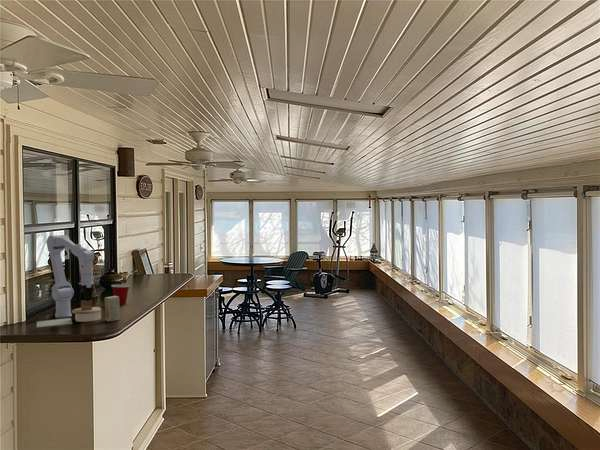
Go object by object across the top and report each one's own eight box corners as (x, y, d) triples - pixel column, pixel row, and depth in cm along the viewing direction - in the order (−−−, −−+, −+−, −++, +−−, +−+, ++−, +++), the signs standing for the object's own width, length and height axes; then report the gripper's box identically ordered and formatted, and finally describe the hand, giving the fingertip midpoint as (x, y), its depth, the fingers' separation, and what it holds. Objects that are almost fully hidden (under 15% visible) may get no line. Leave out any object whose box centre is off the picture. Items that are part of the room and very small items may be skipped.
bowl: (75, 319, 276) (74, 310, 276) (99, 316, 281) (99, 308, 281) (76, 323, 265) (76, 314, 265) (101, 320, 270) (101, 311, 270)
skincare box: (115, 318, 275) (115, 295, 274) (120, 319, 272) (119, 296, 272) (104, 320, 270) (104, 297, 269) (109, 321, 267) (108, 297, 267)
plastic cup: (131, 305, 316) (130, 285, 315) (112, 306, 312) (111, 286, 311) (129, 302, 326) (129, 283, 325) (111, 303, 322) (110, 284, 321)
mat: (36, 322, 269) (36, 321, 269) (70, 318, 277) (70, 318, 277) (36, 328, 255) (36, 327, 255) (72, 324, 262) (72, 323, 262)
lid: (71, 310, 276) (70, 300, 275) (99, 307, 282) (99, 297, 282) (73, 315, 263) (73, 304, 263) (103, 312, 270) (102, 301, 270)
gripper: (77, 273, 277) (77, 298, 277) (80, 275, 264) (80, 302, 265) (91, 272, 280) (92, 297, 281) (95, 274, 268) (95, 301, 268)
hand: (87, 299), depth 273 cm, fingers open, 7 cm apart
